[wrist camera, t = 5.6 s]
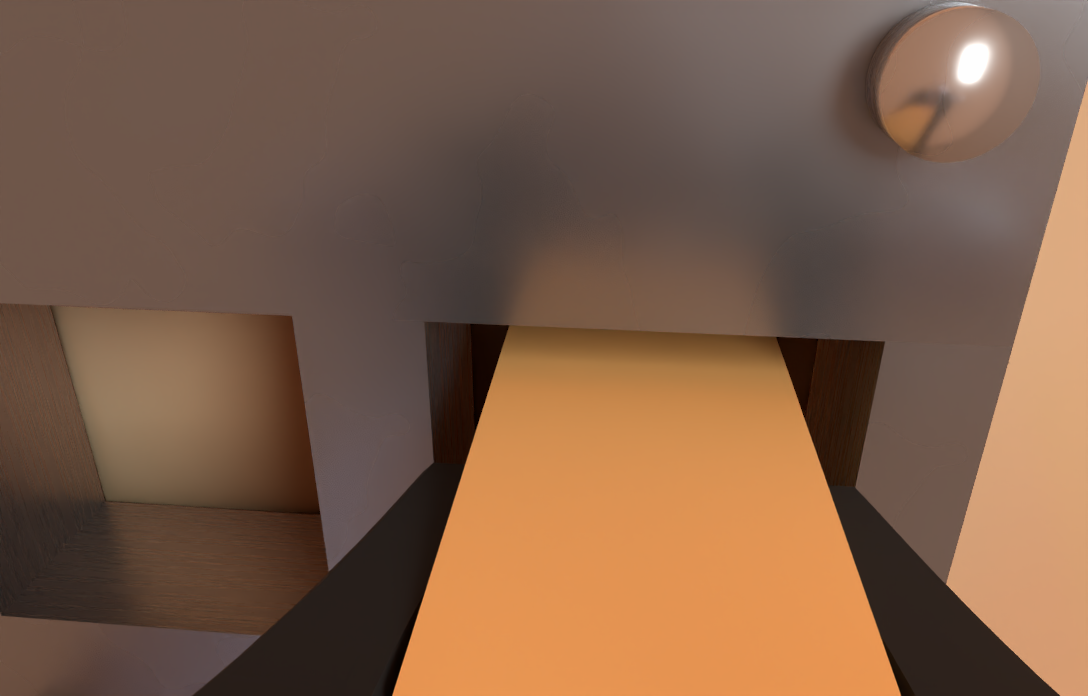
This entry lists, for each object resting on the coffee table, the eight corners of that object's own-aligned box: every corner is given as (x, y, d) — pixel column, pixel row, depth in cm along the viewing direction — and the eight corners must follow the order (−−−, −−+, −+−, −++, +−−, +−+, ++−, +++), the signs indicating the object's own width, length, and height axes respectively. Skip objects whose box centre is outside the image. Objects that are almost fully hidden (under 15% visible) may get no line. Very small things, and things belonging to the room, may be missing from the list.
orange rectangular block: (739, 511, 12) (834, 1029, 7) (520, 498, 13) (422, 985, 7) (766, 307, 11) (916, 736, 5) (518, 297, 11) (393, 695, 5)
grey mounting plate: (828, 723, 14) (873, 909, 12) (89, 664, 15) (-26, 821, 13) (1006, -80, 9) (1169, -81, 6) (-158, -84, 10) (-451, -86, 7)
